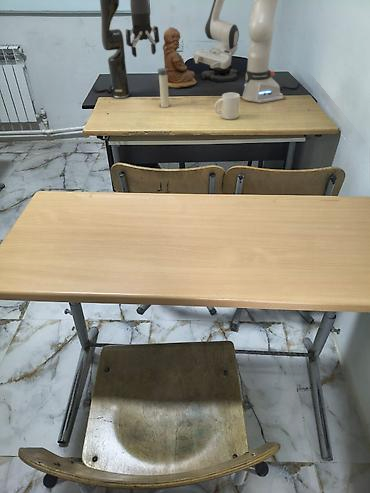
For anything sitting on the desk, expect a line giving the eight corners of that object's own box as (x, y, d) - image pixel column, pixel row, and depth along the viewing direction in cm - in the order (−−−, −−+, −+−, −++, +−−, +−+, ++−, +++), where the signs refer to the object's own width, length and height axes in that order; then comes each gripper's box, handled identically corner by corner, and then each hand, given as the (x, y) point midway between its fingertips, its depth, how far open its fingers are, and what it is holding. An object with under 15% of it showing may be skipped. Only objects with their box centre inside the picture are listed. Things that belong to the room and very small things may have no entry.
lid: (165, 71, 184) (164, 67, 183) (169, 74, 181) (169, 69, 179) (156, 73, 182) (156, 69, 181) (160, 75, 179) (160, 71, 178)
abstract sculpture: (205, 66, 215) (198, 59, 231) (204, 82, 221) (198, 74, 236) (245, 63, 218) (236, 56, 233) (243, 79, 224) (235, 71, 239)
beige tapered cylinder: (166, 104, 194) (164, 68, 183) (170, 106, 191) (168, 70, 180) (159, 105, 193) (157, 70, 181) (163, 107, 190) (161, 72, 178)
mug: (215, 121, 173) (216, 99, 166) (212, 114, 179) (213, 93, 173) (240, 119, 174) (241, 97, 167) (235, 113, 180) (237, 91, 174)
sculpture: (197, 88, 213) (196, 30, 194) (156, 89, 214) (152, 31, 194) (196, 75, 234) (196, 22, 215) (159, 76, 235) (156, 23, 215)
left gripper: (152, 8, 151) (156, 51, 161) (120, 12, 146) (126, 55, 157) (159, 10, 146) (162, 55, 156) (126, 14, 141) (131, 59, 152)
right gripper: (201, 44, 195) (187, 53, 187) (234, 53, 187) (220, 62, 180) (201, 56, 200) (187, 65, 192) (233, 66, 192) (219, 75, 185)
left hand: (144, 55), depth 157 cm, fingers open, 8 cm apart
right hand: (203, 64), depth 186 cm, fingers open, 8 cm apart
